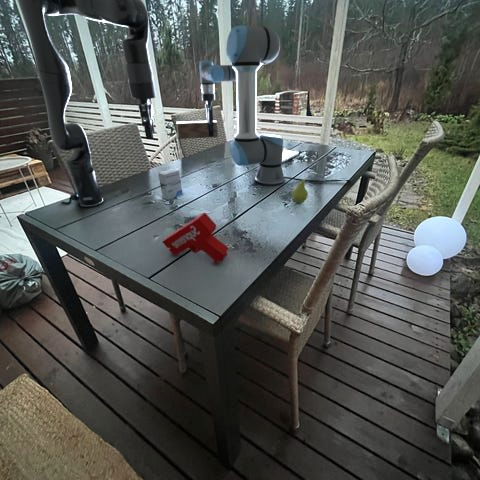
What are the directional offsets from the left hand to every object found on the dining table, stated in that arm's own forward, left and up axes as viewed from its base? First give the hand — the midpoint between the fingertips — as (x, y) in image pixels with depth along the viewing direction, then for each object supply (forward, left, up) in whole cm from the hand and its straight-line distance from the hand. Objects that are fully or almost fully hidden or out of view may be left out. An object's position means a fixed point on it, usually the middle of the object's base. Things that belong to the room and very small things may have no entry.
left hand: (150, 136), depth 92 cm
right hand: (-14, +80, -16) cm, 83 cm away
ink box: (-9, +21, -32) cm, 39 cm away
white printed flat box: (+17, +102, -32) cm, 108 cm away
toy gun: (+23, -19, -32) cm, 44 cm away
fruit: (+49, +32, -32) cm, 67 cm away
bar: (-21, +76, -17) cm, 81 cm away
